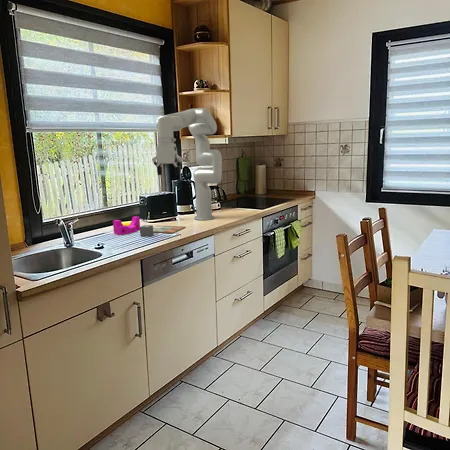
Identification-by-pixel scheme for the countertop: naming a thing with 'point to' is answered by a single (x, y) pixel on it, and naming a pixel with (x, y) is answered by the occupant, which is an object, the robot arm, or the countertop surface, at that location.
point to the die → (146, 230)
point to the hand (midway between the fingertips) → (168, 174)
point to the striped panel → (167, 229)
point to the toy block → (122, 229)
